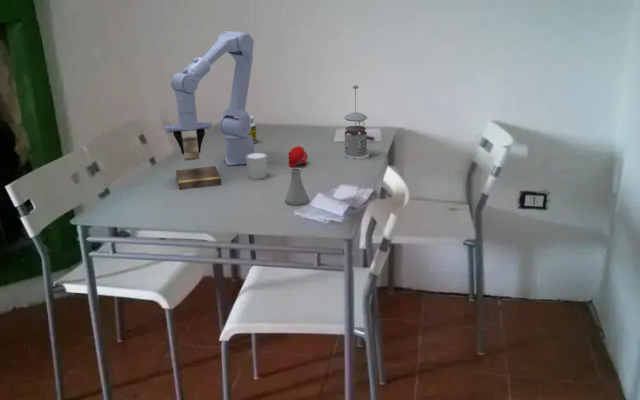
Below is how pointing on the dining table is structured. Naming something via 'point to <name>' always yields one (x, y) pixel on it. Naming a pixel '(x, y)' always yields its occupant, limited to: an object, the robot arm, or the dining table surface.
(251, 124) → the supplement bottle
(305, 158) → the cap
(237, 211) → the dining table surface
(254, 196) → the dining table surface
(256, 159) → the shot glass
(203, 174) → the dock
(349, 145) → the french press
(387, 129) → the dining table surface
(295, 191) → the flask
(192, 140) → the beige block
